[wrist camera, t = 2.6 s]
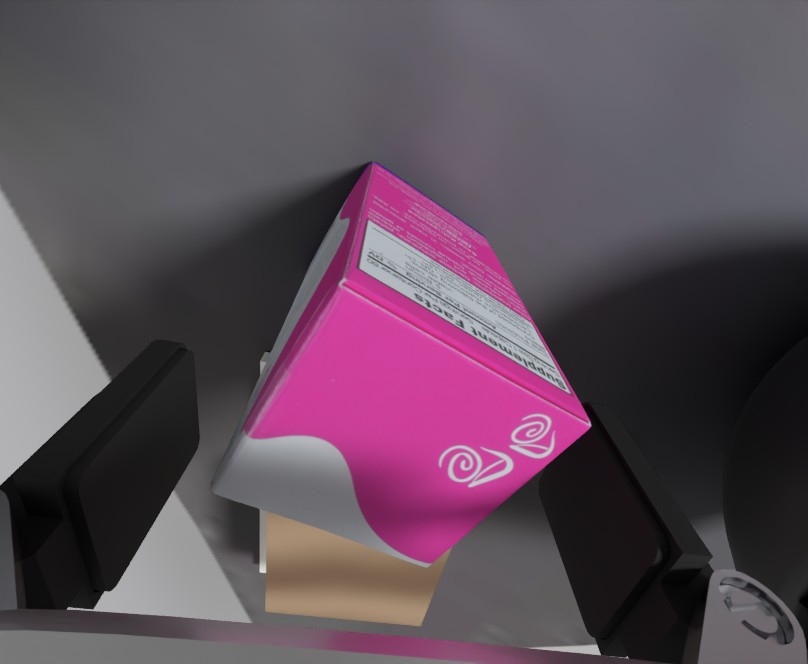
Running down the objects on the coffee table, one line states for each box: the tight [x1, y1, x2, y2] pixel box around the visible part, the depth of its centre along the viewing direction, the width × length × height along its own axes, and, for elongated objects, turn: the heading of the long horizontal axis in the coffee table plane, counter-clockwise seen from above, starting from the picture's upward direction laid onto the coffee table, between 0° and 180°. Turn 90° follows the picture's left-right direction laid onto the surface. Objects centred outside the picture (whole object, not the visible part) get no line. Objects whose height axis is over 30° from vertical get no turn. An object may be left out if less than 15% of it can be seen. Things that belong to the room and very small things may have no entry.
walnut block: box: [265, 512, 452, 626], centre depth 24 cm, size 9×9×4 cm
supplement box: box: [210, 161, 591, 568], centre depth 13 cm, size 6×6×12 cm
